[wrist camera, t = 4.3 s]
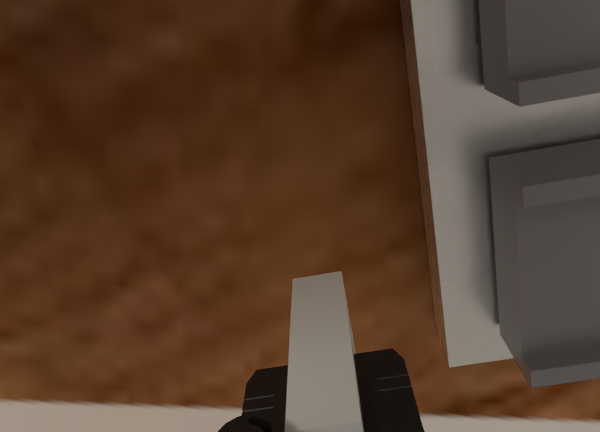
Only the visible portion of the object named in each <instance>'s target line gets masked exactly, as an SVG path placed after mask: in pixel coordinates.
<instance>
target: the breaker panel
mask: <svg viewBox="0 0 600 432" xmlns="http://www.w3.org/2000/svg"><path fill="white" fill-rule="evenodd" d="M400 8H401V17H402V26H403V35H404V44H405V53H406V62H407V71H408V80H409V90H410V99H411V108H412V117H413V126H414V135H415V144H416V153H417V162H418V171H419V180H420V189H421V198H422V207H423V216H424V225H425V234H426V243H427V252H428V261H429V270H430V279H431V288H432V297H433V306H434V315H435V324H436V333H437V338H438V341H439V343H440V346H441V348H442V351H443V353H444V356H445V359H446V361H447V364H448V366H449V368H450V367H456V366H463V365H470V364H477V363H484V362H491V361H498V360H505V359H511V358H514V357H513V356H512V354H511V352H510V350H509V349H508V347H507V345H506V344H505V342H504V340H503V338H502V337H501V335H500V326H499V311H498V295H497V279H496V264H495V248H494V233H493V217H492V202H491V186H490V171H489V158H490V157H496V156H502V155H507V154H513V153H519V152H525V151H531V150H537V149H543V148H549V147H554V146H560V145H566V144H572V143H578V142H584V141H590V140H595V139H600V93H595V94H590V95H584V96H578V97H573V98H567V99H561V100H556V101H550V102H544V103H539V104H533V105H527V106H522V107H519V106H517V105H515V104H513V103H511V102H509V101H507V100H505V99H503V98H501V97H499V96H497V95H495V94H493V93H491V92H489V91H487V90H485V89H484V77H483V62H482V46H481V31H480V15H479V0H400Z"/></svg>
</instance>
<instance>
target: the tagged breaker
mask: <svg viewBox="0 0 600 432" xmlns="http://www.w3.org/2000/svg"><path fill="white" fill-rule="evenodd" d="M489 171H490V186H491V202H492V217H493V233H494V248H495V264H496V279H497V295H498V311H499V326H500V335H501V337H502V338H503V340H504V342H505V344H506V345H507V347H508V349H509V350H510V352H511V354H512V356H513V357H514V359H515V361H516V362H517V364H518V366H519V367H520V369H521V371H522V373H523V374H524V376H525V378H526V379H527V381H528V383H529V385H530V386H531V388H535V387H542V386H550V385H557V384H564V383H571V382H578V381H585V380H592V379H599V378H600V139H595V140H590V141H584V142H578V143H572V144H566V145H560V146H554V147H549V148H543V149H537V150H531V151H525V152H519V153H513V154H507V155H502V156H496V157H490V158H489Z"/></svg>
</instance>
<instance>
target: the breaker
mask: <svg viewBox="0 0 600 432" xmlns="http://www.w3.org/2000/svg"><path fill="white" fill-rule="evenodd" d="M479 15H480V31H481V46H482V62H483V77H484V89H485V90H487V91H489V92H491V93H493V94H495V95H497V96H499V97H501V98H503V99H505V100H507V101H509V102H511V103H513V104H515V105H517V106H519V107H522V106H527V105H533V104H539V103H544V102H550V101H556V100H561V99H567V98H573V97H578V96H584V95H590V94H595V93H600V0H479Z"/></svg>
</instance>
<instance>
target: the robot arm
mask: <svg viewBox="0 0 600 432" xmlns="http://www.w3.org/2000/svg"><path fill="white" fill-rule="evenodd" d="M244 399H245V401H244V403H243V413H242V416H239V417H236V418H235V419H233V420H231V421H229V422H227V423H226V424H225V425H224V426H223V427H222V428H221V429H220V430H219V431H218V432H424V429H423V426H422V423H421V419H420V415H419V412H418V408H417V405H416V401H415V397H414V394H413V390H412V387H411V383H410V379H409V376H408V372H407V368H406V365H405V361H404V359H403V358H402V357H401V356H400V355H399V354H398V353H397V352H396V351H395V350H394V349H386V350H379V351H372V352H365V353H359V354H356V352H355V346H354V340H353V334H352V328H351V323H350V317H349V311H348V305H347V299H346V294H345V288H344V282H343V276H342V271H338V272H332V273H326V274H319V275H313V276H307V277H301V278H294V279H293V280H292V300H291V319H290V339H289V358H288V365H287V366H280V367H273V368H266V369H259V370H256V371H255V373H254V374H253V375H252V377H251V378H250V380H249V381H248V382H247V384H246V391H245V397H244Z"/></svg>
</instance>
